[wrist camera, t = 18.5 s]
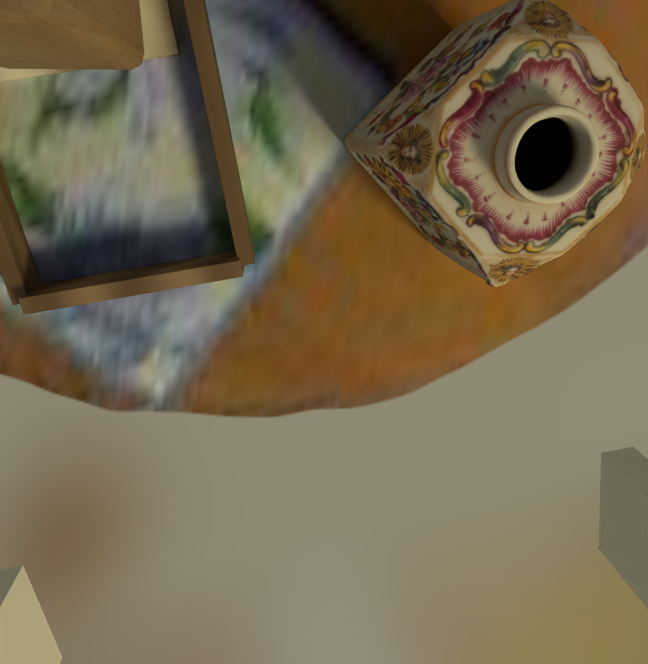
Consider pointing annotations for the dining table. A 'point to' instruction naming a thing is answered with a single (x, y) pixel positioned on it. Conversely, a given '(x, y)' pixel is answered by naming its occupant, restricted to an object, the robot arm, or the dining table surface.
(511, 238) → the decorative jar
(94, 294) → the bay
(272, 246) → the dining table surface
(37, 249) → the dining table surface
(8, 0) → the wooden block
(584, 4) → the dining table surface
